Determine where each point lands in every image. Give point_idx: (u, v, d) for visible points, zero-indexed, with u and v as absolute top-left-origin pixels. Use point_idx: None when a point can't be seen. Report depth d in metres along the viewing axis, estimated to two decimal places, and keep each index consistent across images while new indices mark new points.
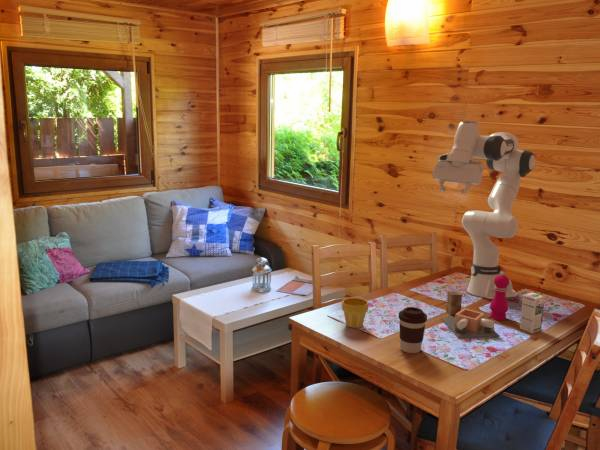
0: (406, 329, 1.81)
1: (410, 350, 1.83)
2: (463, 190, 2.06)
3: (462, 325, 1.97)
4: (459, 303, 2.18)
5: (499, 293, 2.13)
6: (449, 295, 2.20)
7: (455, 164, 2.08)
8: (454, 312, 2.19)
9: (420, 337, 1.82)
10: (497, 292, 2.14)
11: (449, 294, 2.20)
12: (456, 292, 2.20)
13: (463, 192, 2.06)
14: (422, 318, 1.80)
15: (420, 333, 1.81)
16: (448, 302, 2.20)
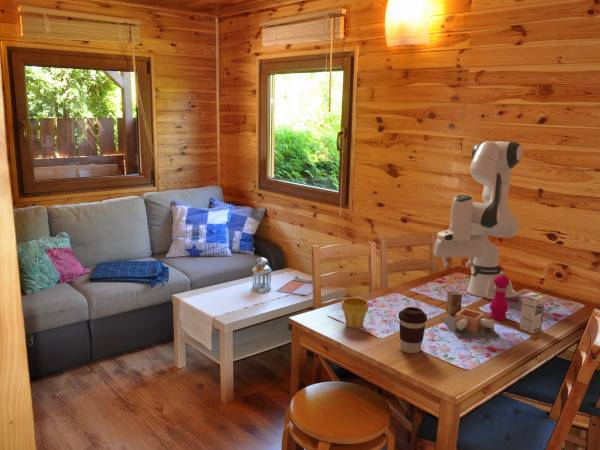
0: (406, 329, 1.81)
1: (410, 350, 1.83)
2: (469, 264, 2.16)
3: (462, 325, 1.97)
4: (459, 303, 2.18)
5: (499, 293, 2.13)
6: (449, 295, 2.20)
7: (462, 243, 2.11)
8: (454, 312, 2.19)
9: (420, 337, 1.82)
10: (497, 292, 2.14)
11: (449, 294, 2.20)
12: (456, 292, 2.20)
13: (469, 266, 2.16)
14: (422, 318, 1.80)
15: (420, 333, 1.81)
16: (448, 302, 2.20)
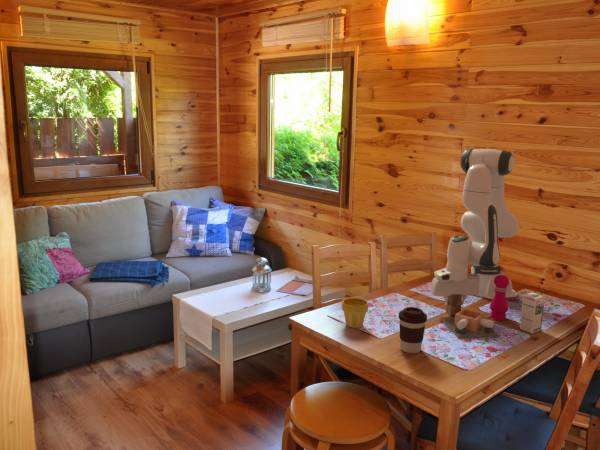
0: (406, 329, 1.81)
1: (410, 350, 1.83)
2: None
3: (462, 325, 1.97)
4: (459, 303, 2.18)
5: (499, 293, 2.13)
6: None
7: (458, 282, 2.15)
8: (454, 312, 2.19)
9: (420, 337, 1.82)
10: (497, 292, 2.14)
11: None
12: None
13: (462, 304, 2.20)
14: (422, 318, 1.80)
15: (420, 333, 1.81)
16: None
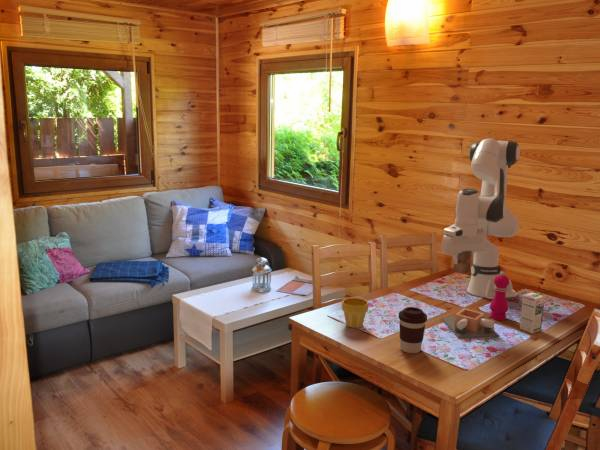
0: (406, 329, 1.81)
1: (410, 350, 1.83)
2: None
3: (462, 325, 1.97)
4: (469, 260, 2.08)
5: (499, 293, 2.13)
6: (458, 253, 2.09)
7: (470, 238, 2.05)
8: (464, 270, 2.08)
9: (420, 337, 1.82)
10: (497, 292, 2.14)
11: None
12: None
13: None
14: (422, 318, 1.80)
15: (420, 333, 1.81)
16: None
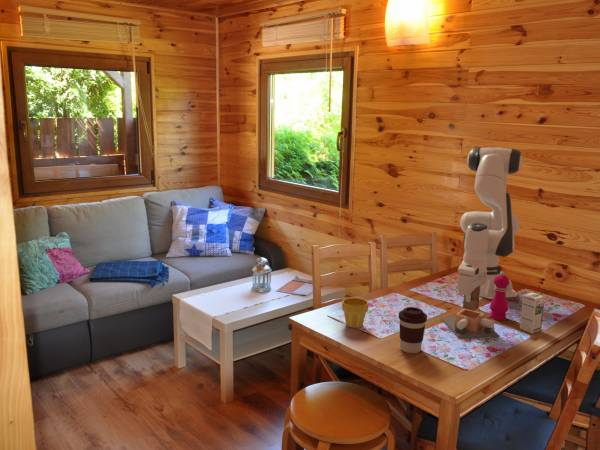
0: (406, 329, 1.81)
1: (410, 350, 1.83)
2: None
3: (462, 325, 1.97)
4: (478, 296, 2.03)
5: (499, 293, 2.13)
6: None
7: (481, 274, 1.99)
8: (476, 307, 2.02)
9: (420, 337, 1.82)
10: (497, 292, 2.14)
11: None
12: None
13: None
14: (422, 318, 1.80)
15: (420, 333, 1.81)
16: None
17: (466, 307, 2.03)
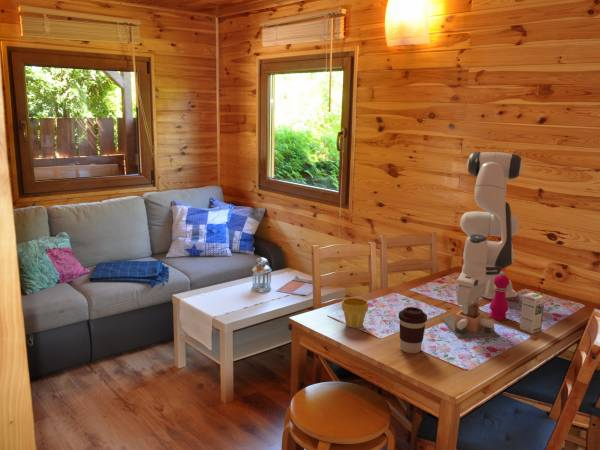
0: (406, 329, 1.81)
1: (410, 350, 1.83)
2: None
3: (462, 325, 1.97)
4: (477, 314, 2.04)
5: (499, 293, 2.13)
6: None
7: (480, 285, 2.00)
8: None
9: (420, 337, 1.82)
10: (497, 292, 2.14)
11: (468, 307, 2.02)
12: (470, 303, 2.05)
13: None
14: (422, 318, 1.80)
15: (420, 333, 1.81)
16: None
17: None
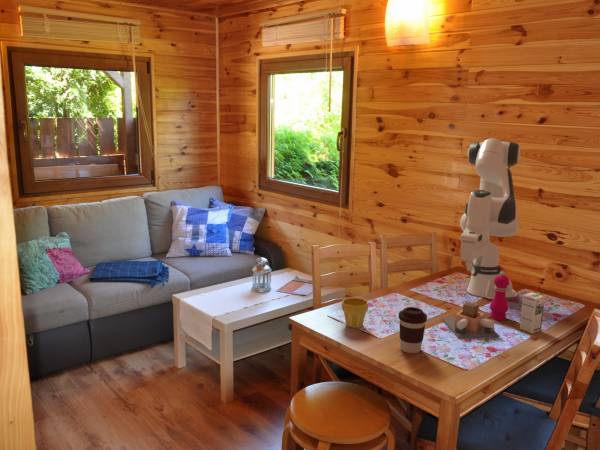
0: (406, 329, 1.81)
1: (410, 350, 1.83)
2: (481, 262, 2.03)
3: (462, 325, 1.97)
4: (477, 314, 2.04)
5: (499, 293, 2.13)
6: (467, 309, 2.02)
7: (484, 241, 1.96)
8: None
9: (420, 337, 1.82)
10: (497, 292, 2.14)
11: (468, 307, 2.02)
12: (470, 303, 2.05)
13: (481, 264, 2.04)
14: (422, 318, 1.80)
15: (420, 333, 1.81)
16: None
17: None
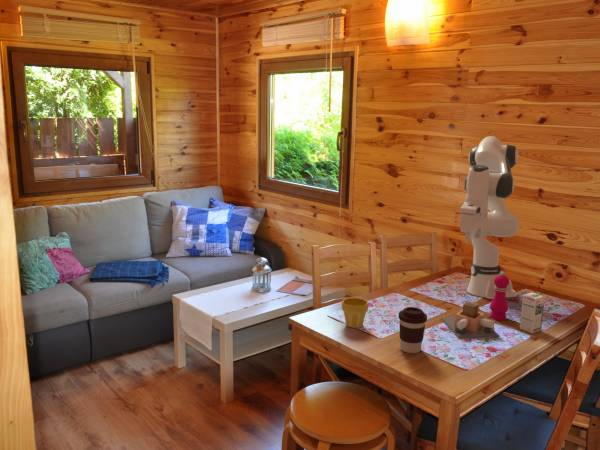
0: (406, 329, 1.81)
1: (410, 350, 1.83)
2: (479, 235, 2.13)
3: (462, 325, 1.97)
4: (477, 314, 2.04)
5: (499, 293, 2.13)
6: (467, 309, 2.02)
7: (483, 214, 2.06)
8: None
9: (420, 337, 1.82)
10: (497, 292, 2.14)
11: (468, 307, 2.02)
12: (470, 303, 2.05)
13: (479, 236, 2.14)
14: (422, 318, 1.80)
15: (420, 333, 1.81)
16: None
17: None
